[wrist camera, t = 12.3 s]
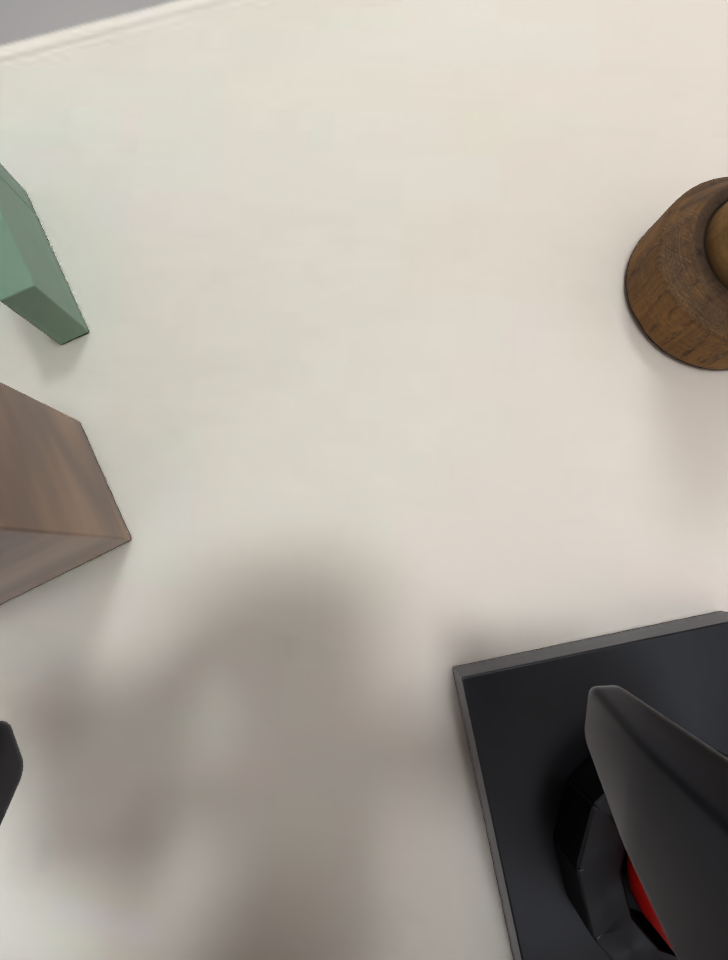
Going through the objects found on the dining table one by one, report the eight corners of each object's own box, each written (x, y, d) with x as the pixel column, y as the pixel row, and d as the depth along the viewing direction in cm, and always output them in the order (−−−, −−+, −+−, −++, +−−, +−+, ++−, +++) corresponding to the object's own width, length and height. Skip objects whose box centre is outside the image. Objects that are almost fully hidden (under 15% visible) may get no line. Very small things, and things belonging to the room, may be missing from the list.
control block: (826, 977, 17) (944, 1082, 14) (532, 1048, 17) (577, 1175, 13) (721, 610, 19) (802, 622, 16) (451, 666, 19) (473, 691, 15)
